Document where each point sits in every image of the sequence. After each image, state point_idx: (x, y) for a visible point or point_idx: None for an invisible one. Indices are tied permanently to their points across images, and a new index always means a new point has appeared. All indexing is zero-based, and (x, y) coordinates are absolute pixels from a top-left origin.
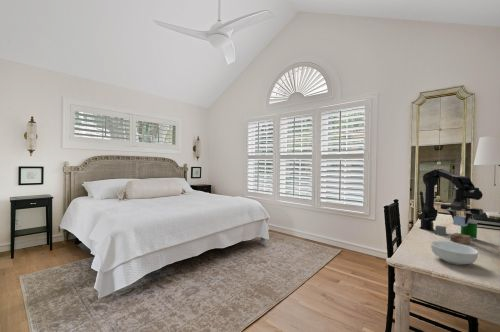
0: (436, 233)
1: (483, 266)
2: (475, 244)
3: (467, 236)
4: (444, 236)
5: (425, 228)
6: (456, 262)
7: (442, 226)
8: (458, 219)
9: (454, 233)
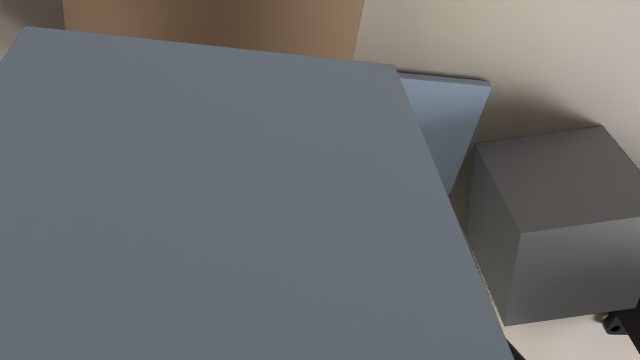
0: (590, 135)
1: None
2: (2, 15)
3: (74, 25)
4: (475, 82)
5: None
6: None
7: (555, 311)
8: (212, 233)
9: (333, 58)
